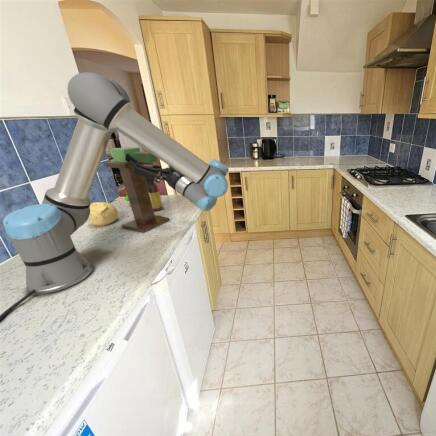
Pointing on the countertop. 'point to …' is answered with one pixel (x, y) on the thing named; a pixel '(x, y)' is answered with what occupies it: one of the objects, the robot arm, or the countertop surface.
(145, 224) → the walnut stand
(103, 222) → the sculpture
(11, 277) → the countertop surface
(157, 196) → the sauce bottle
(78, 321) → the countertop surface
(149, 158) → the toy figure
